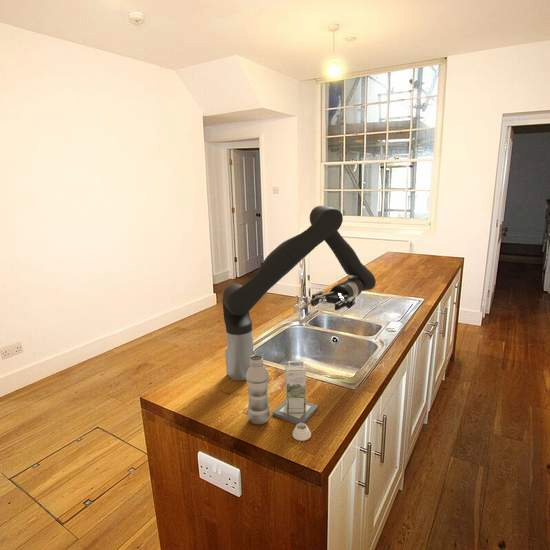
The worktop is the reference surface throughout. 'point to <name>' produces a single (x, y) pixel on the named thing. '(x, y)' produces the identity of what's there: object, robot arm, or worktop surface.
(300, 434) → the white jar
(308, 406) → the plate
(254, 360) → the plastic bottle
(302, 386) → the syrup box
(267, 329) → the worktop surface
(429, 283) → the worktop surface
